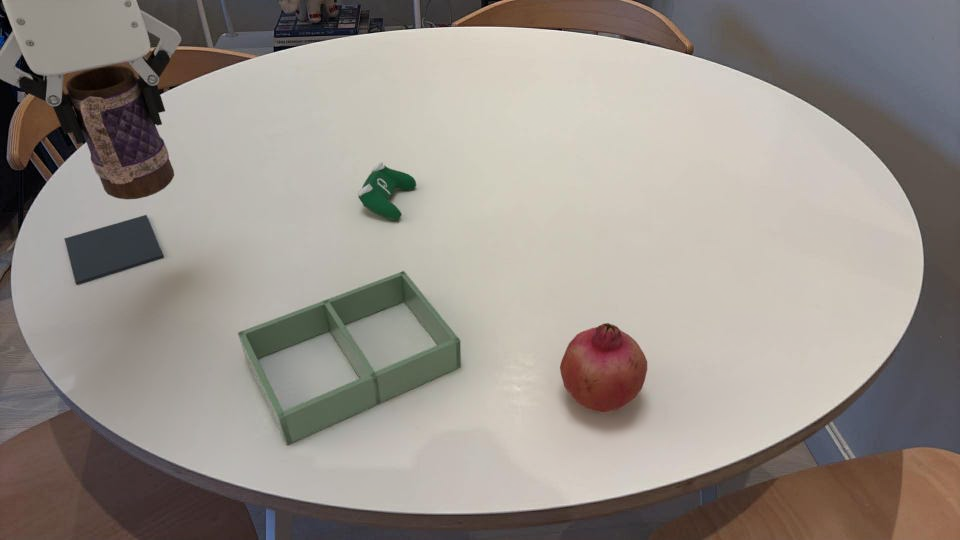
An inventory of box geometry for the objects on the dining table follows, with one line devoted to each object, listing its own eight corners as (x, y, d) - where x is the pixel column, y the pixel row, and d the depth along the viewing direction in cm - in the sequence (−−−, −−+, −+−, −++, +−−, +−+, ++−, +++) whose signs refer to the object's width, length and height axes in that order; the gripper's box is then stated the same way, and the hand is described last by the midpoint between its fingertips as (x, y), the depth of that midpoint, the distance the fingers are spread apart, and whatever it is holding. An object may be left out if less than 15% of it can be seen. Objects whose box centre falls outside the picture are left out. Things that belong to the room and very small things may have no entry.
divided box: (286, 445, 65) (278, 418, 63) (246, 359, 73) (237, 332, 71) (461, 367, 73) (460, 340, 70) (406, 296, 81) (403, 270, 78)
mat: (76, 284, 83) (75, 282, 82) (65, 240, 89) (64, 238, 89) (163, 257, 87) (163, 254, 86) (147, 217, 93) (146, 214, 93)
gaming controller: (403, 194, 100) (371, 166, 98) (420, 180, 98) (388, 151, 96) (384, 232, 93) (349, 203, 91) (401, 218, 91) (367, 188, 89)
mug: (111, 169, 75) (67, 62, 68) (180, 161, 76) (144, 55, 69) (91, 223, 68) (38, 110, 60) (167, 214, 69) (125, 102, 61)
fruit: (576, 440, 66) (587, 368, 59) (545, 377, 72) (552, 306, 65) (654, 420, 67) (672, 348, 61) (617, 360, 73) (631, 289, 67)
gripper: (148, -95, 62) (200, 93, 73) (-81, -68, 55) (16, 134, 67) (165, -76, 57) (218, 122, 69) (-84, -44, 50) (21, 170, 62)
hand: (117, 126), depth 68 cm, fingers closed on mug, 6 cm apart
